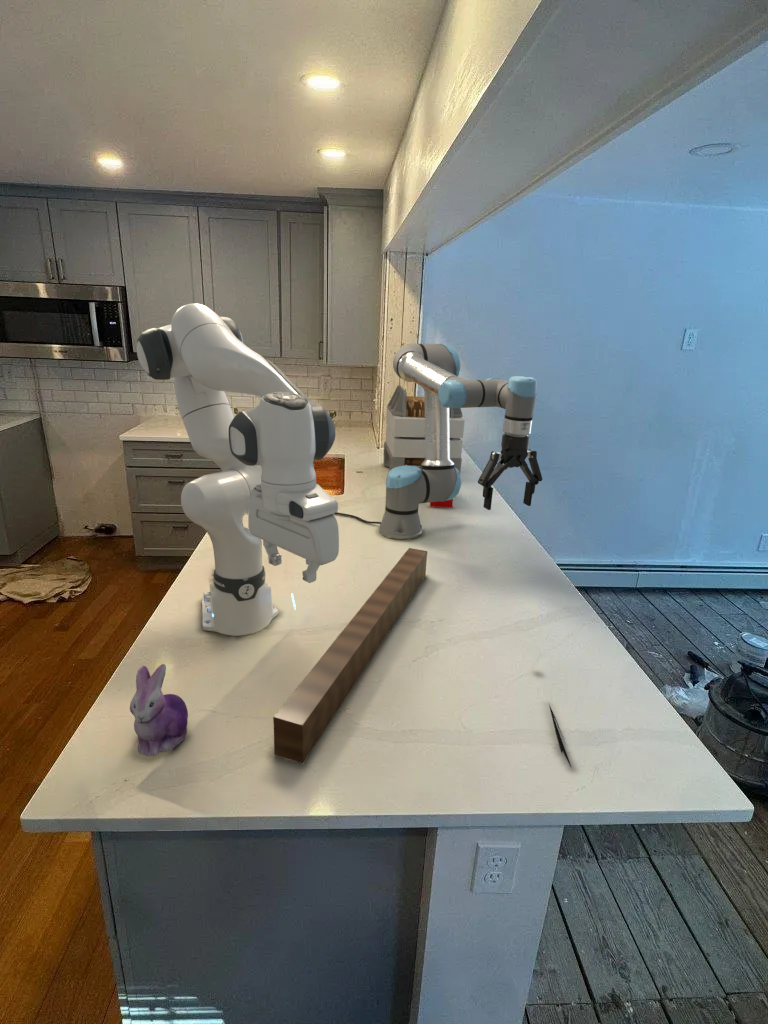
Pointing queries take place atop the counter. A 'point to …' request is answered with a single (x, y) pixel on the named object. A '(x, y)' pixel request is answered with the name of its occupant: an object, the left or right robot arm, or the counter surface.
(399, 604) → the bar
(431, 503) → the toy
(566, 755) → the feather
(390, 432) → the transformer
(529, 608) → the counter surface
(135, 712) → the figurine
